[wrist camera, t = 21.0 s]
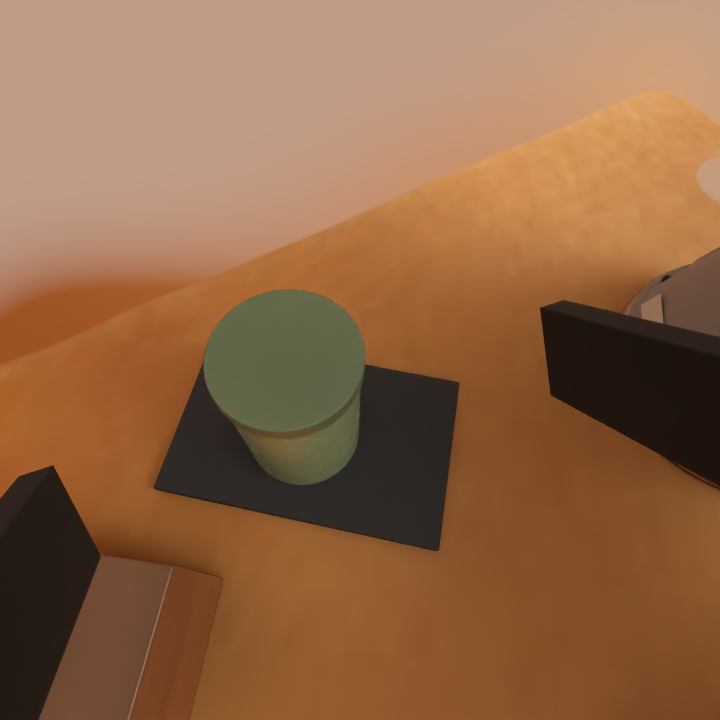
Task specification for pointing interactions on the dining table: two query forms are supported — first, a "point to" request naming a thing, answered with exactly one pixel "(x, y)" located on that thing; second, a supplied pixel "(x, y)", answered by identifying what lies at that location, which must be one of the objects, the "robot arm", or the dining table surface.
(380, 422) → the rubber mat
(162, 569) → the walnut block
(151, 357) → the dining table surface
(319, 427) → the green tin
